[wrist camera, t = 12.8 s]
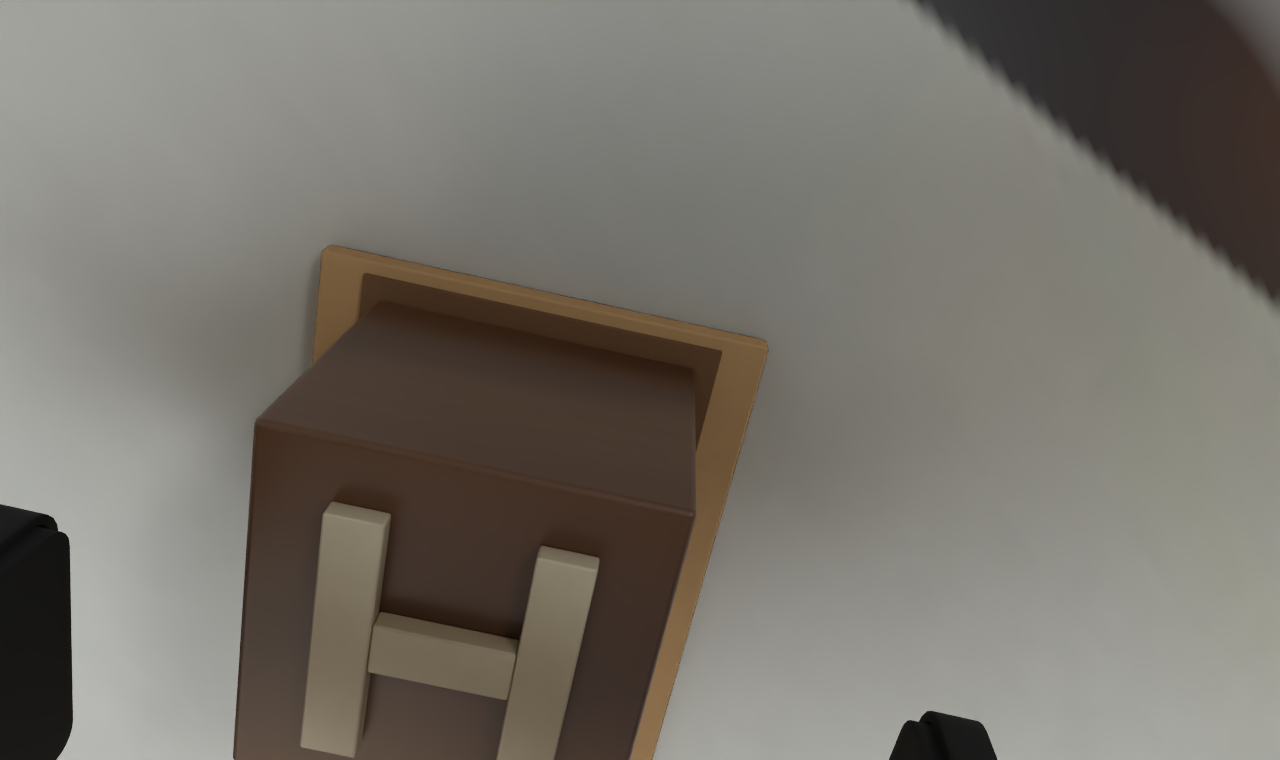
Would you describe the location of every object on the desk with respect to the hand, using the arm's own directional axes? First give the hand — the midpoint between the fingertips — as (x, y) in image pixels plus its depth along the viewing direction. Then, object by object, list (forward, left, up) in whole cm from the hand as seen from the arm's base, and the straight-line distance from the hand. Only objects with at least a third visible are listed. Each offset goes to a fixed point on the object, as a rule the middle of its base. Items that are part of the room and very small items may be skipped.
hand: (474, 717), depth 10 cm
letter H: (0, 0, -6) cm, 6 cm away
